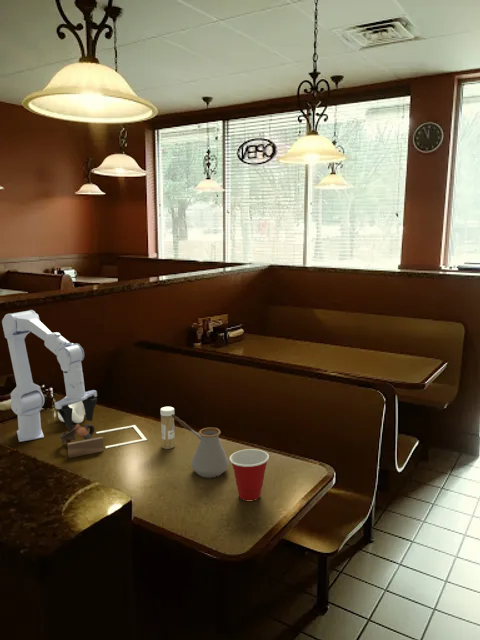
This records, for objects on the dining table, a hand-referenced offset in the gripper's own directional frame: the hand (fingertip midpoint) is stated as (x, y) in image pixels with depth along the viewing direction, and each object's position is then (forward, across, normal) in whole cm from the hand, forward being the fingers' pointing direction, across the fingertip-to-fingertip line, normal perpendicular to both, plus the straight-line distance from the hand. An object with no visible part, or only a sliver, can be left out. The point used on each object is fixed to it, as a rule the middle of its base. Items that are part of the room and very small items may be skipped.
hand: (79, 424), depth 166 cm
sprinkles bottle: (+12, +20, -18) cm, 30 cm away
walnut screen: (+10, +1, 0) cm, 10 cm away
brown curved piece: (+10, +4, +7) cm, 13 cm away
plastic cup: (+16, +11, -57) cm, 60 cm away
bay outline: (+10, +16, +1) cm, 19 cm away
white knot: (+8, +17, +26) cm, 32 cm away
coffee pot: (+14, +15, -35) cm, 41 cm away
